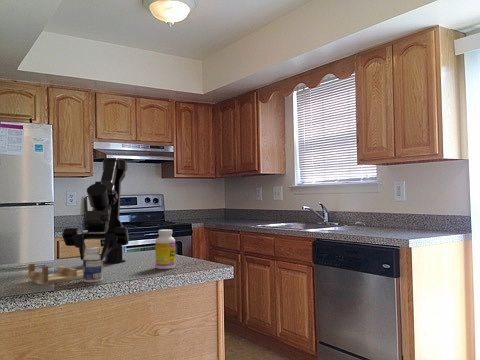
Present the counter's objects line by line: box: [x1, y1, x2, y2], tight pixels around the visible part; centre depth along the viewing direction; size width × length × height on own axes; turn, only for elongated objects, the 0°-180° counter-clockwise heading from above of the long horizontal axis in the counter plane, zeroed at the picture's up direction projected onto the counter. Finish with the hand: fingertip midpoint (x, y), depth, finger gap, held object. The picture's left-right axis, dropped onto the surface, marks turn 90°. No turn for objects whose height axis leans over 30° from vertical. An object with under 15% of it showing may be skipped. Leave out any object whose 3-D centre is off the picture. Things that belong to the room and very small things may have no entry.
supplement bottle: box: [155, 229, 176, 270], centre depth 145 cm, size 7×7×13 cm
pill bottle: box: [82, 246, 104, 283], centre depth 125 cm, size 5×5×10 cm
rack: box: [28, 262, 104, 286], centre depth 130 cm, size 9×19×5 cm, turn 142°
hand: (91, 258), depth 123 cm, fingers closed on pill bottle, 5 cm apart
